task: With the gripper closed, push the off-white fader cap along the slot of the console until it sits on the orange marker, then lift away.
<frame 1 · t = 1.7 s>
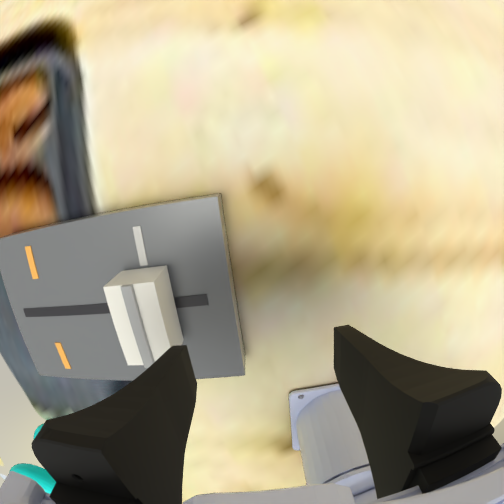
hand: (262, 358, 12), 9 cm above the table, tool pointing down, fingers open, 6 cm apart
fader: (145, 317, 17), point 4 cm above the table, slide at 0.0 cm
donuts: (75, 446, 26), on the table
console: (113, 294, 21), on the table
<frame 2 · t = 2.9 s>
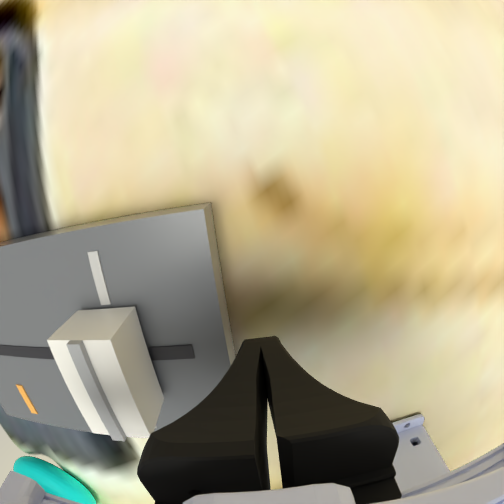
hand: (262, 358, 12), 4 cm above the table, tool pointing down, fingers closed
fader: (109, 376, 11), point 4 cm above the table, slide at 0.0 cm
donuts: (58, 479, 21), on the table
console: (78, 331, 16), on the table
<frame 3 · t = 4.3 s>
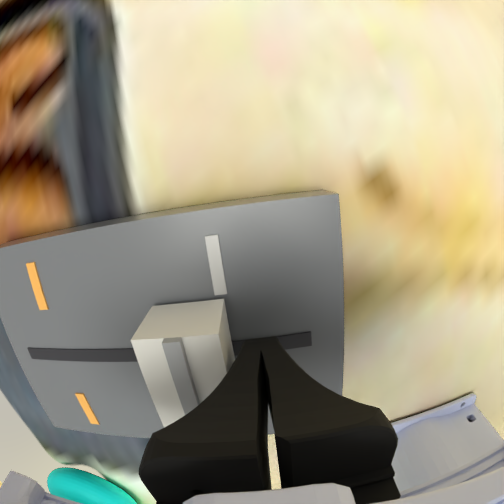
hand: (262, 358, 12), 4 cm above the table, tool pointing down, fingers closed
fader: (194, 375, 11), point 4 cm above the table, slide at 1.4 cm, touching gripper
donuts: (97, 489, 21), on the table
console: (158, 328, 16), on the table
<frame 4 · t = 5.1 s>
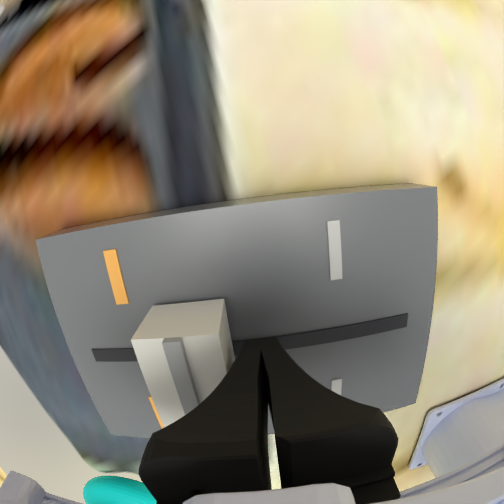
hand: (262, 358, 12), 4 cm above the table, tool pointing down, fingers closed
fader: (194, 375, 11), point 4 cm above the table, slide at 6.1 cm, touching gripper
donuts: (137, 496, 21), on the table
console: (246, 320, 15), on the table
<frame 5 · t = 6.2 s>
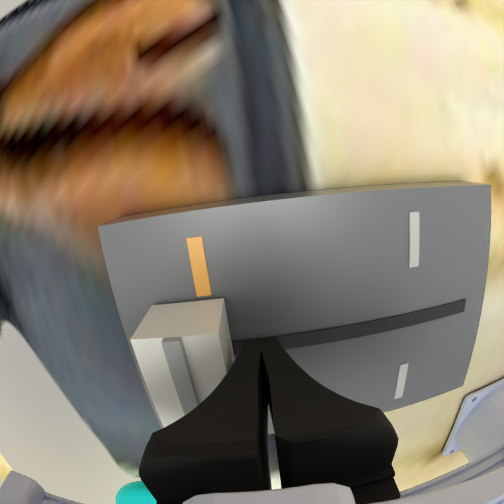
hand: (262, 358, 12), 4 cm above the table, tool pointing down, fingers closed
fader: (193, 375, 11), point 4 cm above the table, slide at 9.7 cm, touching gripper
donuts: (172, 500, 21), on the table
console: (317, 310, 15), on the table
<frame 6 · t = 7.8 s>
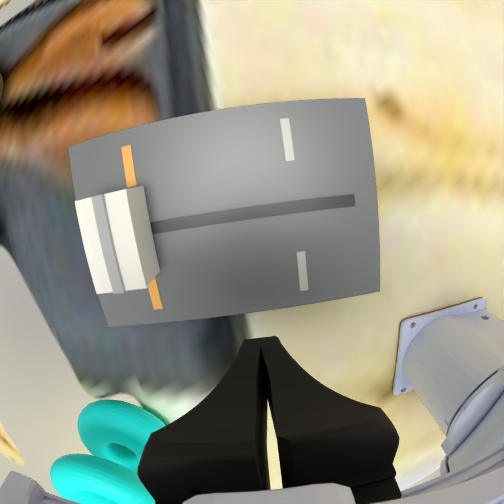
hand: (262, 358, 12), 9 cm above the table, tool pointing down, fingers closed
fader: (117, 239, 15), point 4 cm above the table, slide at 9.7 cm
donuts: (130, 428, 25), on the table
console: (226, 210, 20), on the table
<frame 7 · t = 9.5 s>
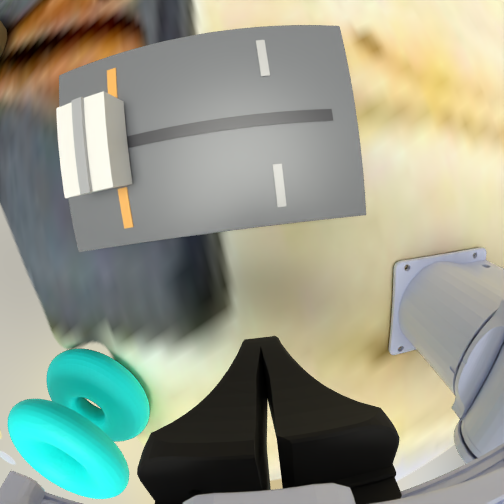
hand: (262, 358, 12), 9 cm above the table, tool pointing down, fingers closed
fader: (92, 146, 14), point 4 cm above the table, slide at 9.7 cm
donuts: (102, 387, 24), on the table
console: (205, 133, 18), on the table
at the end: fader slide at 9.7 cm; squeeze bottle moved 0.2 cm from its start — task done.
